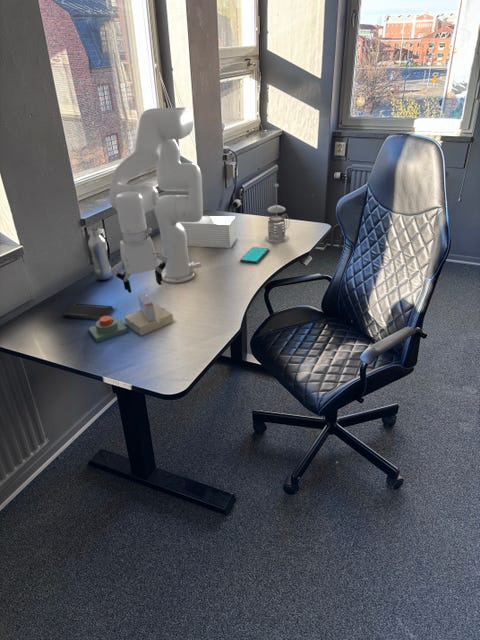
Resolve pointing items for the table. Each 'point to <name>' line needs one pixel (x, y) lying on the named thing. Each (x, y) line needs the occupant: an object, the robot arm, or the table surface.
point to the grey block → (147, 307)
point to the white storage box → (211, 232)
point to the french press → (276, 219)
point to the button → (105, 320)
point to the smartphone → (254, 255)
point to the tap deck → (141, 323)
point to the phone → (88, 311)
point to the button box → (107, 330)
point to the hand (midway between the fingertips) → (144, 287)
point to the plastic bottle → (99, 255)
